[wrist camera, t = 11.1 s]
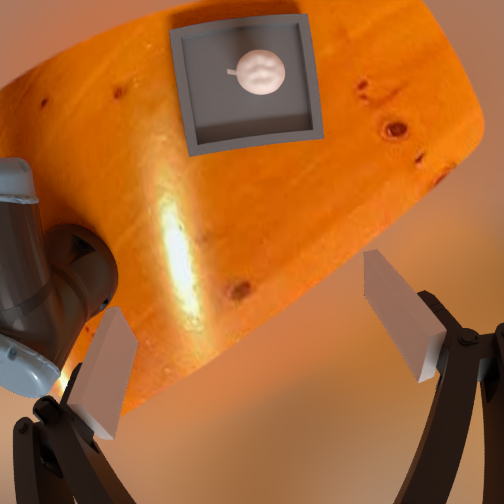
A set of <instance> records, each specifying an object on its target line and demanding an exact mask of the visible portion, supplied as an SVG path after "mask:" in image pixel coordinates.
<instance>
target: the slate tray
mask: <svg viewBox="0 0 504 504" xmlns="http://www.w3.org/2000/svg"><path fill="white" fill-rule="evenodd" d="M169 33H170V41H171V48H172V55H173V62H174V69H175V75H176V82H177V88H178V94H179V101H180V107H181V113H182V119H183V124H184V130H185V136H186V142H187V147H188V153H189V157H191V156H196V155H202V154H208V153H214V152H220V151H226V150H232V149H239V148H246V147H253V146H261V145H268V144H277V143H286V142H295V141H305V140H316V139H324V133H323V122H322V113H321V104H320V95H319V87H318V79H317V72H316V64H315V57H314V51H313V44H312V38H311V32H310V26H309V20H308V15H307V14H280V15H264V16H252V17H242V18H234V19H226V20H219V21H213V22H207V23H201V24H196V25H190V26H186V27H181V28H176V29H172V30H169ZM253 50H267V51H270V52H273V53H274V54H276V55H277V56H278V57H279V58H280V60H281V61H282V63H283V65H284V68H285V78H284V81H283V82H282V84H281V85H280V87H279V88H278V89H277V90H276V91H274V92H272V93H269V94H264V95H259V94H253V93H250V92H248V91H247V90H245V89H244V88H243V87H242V86H241V85H240V83H239V82H238V79H237V76H236V75H232V74H227V69H230V70H235V71H236V68H237V64H238V62H239V60H240V59H241V58H242V57H243V56H244V55H245V54H247V53H248V52H250V51H253Z"/></svg>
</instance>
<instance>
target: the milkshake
mask: <svg viewBox="0 0 504 504" xmlns="http://www.w3.org/2000/svg"><path fill="white" fill-rule="evenodd" d="M227 74H232V75H236V76H237V79H238V82H239V83H240V85H241V86H242V87H243V88H244V89H245V90H247V91H248V92H250V93H253V94H259V95H264V94H269V93H272V92H274V91H276V90H277V89H278V88H279V87H280V85H281V84H282V82H283V81H284V78H285V68H284V65H283V63H282V61H281V60H280V58H279V57H278V56H277V55H276V54H274V53H273V52H270V51H267V50H253V51H250V52H248V53H247V54H245V55H244V56H243V57H242V58H241V59H240V60H239V62H238V64H237V68H236V71H235V70H230V69H227Z"/></svg>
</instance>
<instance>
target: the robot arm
mask: <svg viewBox="0 0 504 504" xmlns="http://www.w3.org/2000/svg"><path fill="white" fill-rule="evenodd" d="M38 203H39V198H38V197H37V195H36V190H35V185H34V179H33V173H32V169H31V166H30V165H29V163H28V162H27V161H26V160H24V159H22V158H19V157H6V158H0V385H1V386H2V387H4V388H6V389H7V390H9V391H12V392H13V393H16V394H18V395H21V396H24V397H28V398H40V397H41V398H40V399H39V400H38V401H37V402H36V403H35V405H34V407H33V414H34V415H35V416H36V417H37V418H38V419H39V420H40V422H36V423H34V422H33V421H32V420H31V419H30V418H28V417H23V418H21V419H20V420H18V421H17V422H16V424H15V426H14V430H13V465H14V482H15V492H16V501H17V504H75V501H74V498H75V500H76V502H77V503H78V504H136V503H135V501H134V500H133V499H132V497H131V496H130V494H129V493H128V492H127V490H126V489H125V487H124V486H123V484H122V483H121V481H120V480H119V479H118V477H117V476H116V474H115V473H114V471H113V469H112V468H111V466H110V465H109V463H108V461H107V460H106V458H105V456H104V455H103V453H102V451H101V450H100V448H99V446H98V444H97V443H96V442H95V441H94V439H93V435H94V433H95V434H96V435H97V436H98V437H99V438H100V439H110V440H111V439H112V440H114V439H115V436H116V431H117V426H118V422H119V418H120V413H121V409H122V405H123V401H124V397H125V392H126V388H127V385H128V381H129V377H130V373H131V369H132V365H133V362H134V358H135V354H136V351H137V347H138V344H139V343H138V341H137V340H136V338H135V336H134V334H133V332H132V330H131V329H130V327H129V325H128V323H127V321H126V319H125V317H124V315H123V313H122V311H121V310H120V308H119V306H117V307H111V308H107V310H106V312H105V314H104V316H103V318H102V320H101V322H100V325H99V327H98V329H97V331H96V333H95V336H94V338H93V340H92V342H91V345H90V347H89V349H88V352H87V354H86V356H85V359H84V361H83V363H79V364H78V365H77V366H76V367H75V369H74V370H73V372H72V374H71V377H70V380H69V381H68V384H67V386H66V389H65V391H64V394H63V396H62V399H61V401H60V404H58V403H57V402H56V400H55V399H54V398H53V397H52V396H49V395H48V396H45V395H46V394H48V393H49V392H50V390H51V389H52V387H53V385H54V383H55V382H56V380H57V379H58V378H59V377H60V375H61V371H62V368H63V366H64V364H65V362H66V360H67V358H68V356H69V354H70V352H71V350H72V348H73V346H74V344H75V342H76V340H77V338H78V336H79V334H80V332H81V330H82V328H83V326H84V325H85V323H86V322H87V321H89V320H90V319H91V318H93V317H94V316H96V315H97V314H98V313H100V312H101V311H103V310H104V309H105V308H106V307H107V306H108V305H109V303H110V302H111V300H112V298H113V296H114V294H115V292H116V289H117V286H118V270H117V266H116V263H115V260H114V258H113V256H112V254H111V252H110V251H109V249H108V248H107V246H106V245H105V244H104V243H103V241H102V240H101V239H100V238H99V237H97V236H96V235H95V234H94V233H92V232H91V231H89V230H87V229H85V228H83V227H81V226H78V225H74V224H60V225H56V226H54V227H52V228H50V229H49V230H48V231H47V232H45V233H44V234H43V232H42V226H41V220H40V214H39V207H38ZM364 296H365V297H366V299H367V300H368V302H369V304H370V305H371V307H372V308H373V310H374V311H375V313H376V314H377V316H378V317H379V319H380V321H381V322H382V324H383V325H384V327H385V328H386V330H387V332H388V333H389V335H390V337H391V338H392V340H393V342H394V343H395V345H396V346H397V348H398V350H399V351H400V353H401V355H402V356H403V358H404V360H405V361H406V363H407V365H408V366H409V368H410V370H411V372H412V373H413V375H414V377H415V378H416V380H417V382H418V383H420V382H422V381H425V380H427V379H430V378H432V377H433V376H434V373H435V370H436V368H437V370H438V371H439V373H440V377H439V380H438V383H437V385H436V392H435V396H434V399H433V403H432V406H431V409H430V413H429V416H428V420H427V422H426V425H425V428H424V431H423V434H422V437H421V440H420V443H419V445H418V448H417V451H416V453H415V456H414V459H413V461H412V463H411V466H410V468H409V471H408V473H407V475H406V478H405V480H404V482H403V484H402V487H401V489H400V491H399V493H398V495H397V497H396V499H395V501H394V503H393V504H446V502H447V499H448V496H449V493H450V491H451V488H452V485H453V482H454V480H455V477H456V473H457V470H458V467H459V463H460V460H461V457H462V453H463V450H464V446H465V442H466V438H467V434H468V430H469V425H470V420H471V416H472V410H473V405H474V400H475V394H476V387H477V382H479V381H480V388H481V397H482V407H483V420H484V444H485V467H484V491H483V502H482V504H504V323H501V324H499V325H498V326H497V328H496V330H495V333H491V334H484V335H479V334H478V333H477V332H476V331H474V330H472V329H469V328H462V326H461V325H460V324H459V323H458V322H457V321H456V319H455V318H454V317H453V316H452V315H451V314H450V313H449V311H448V310H447V309H445V307H444V306H443V304H441V303H440V301H439V300H438V299H437V298H436V297H435V296H434V295H433V294H431V293H429V292H427V291H425V290H424V291H421V292H418V293H416V292H415V291H414V290H413V289H412V288H411V286H410V285H409V284H408V283H407V282H406V281H405V280H404V278H403V277H402V276H401V275H400V274H399V273H398V272H397V271H396V270H395V268H394V267H393V266H392V265H391V264H390V263H389V262H388V261H387V260H386V259H385V258H384V257H383V255H382V254H381V253H380V252H379V251H378V250H377V249H375V250H371V251H368V252H364ZM73 496H74V497H73Z"/></svg>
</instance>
